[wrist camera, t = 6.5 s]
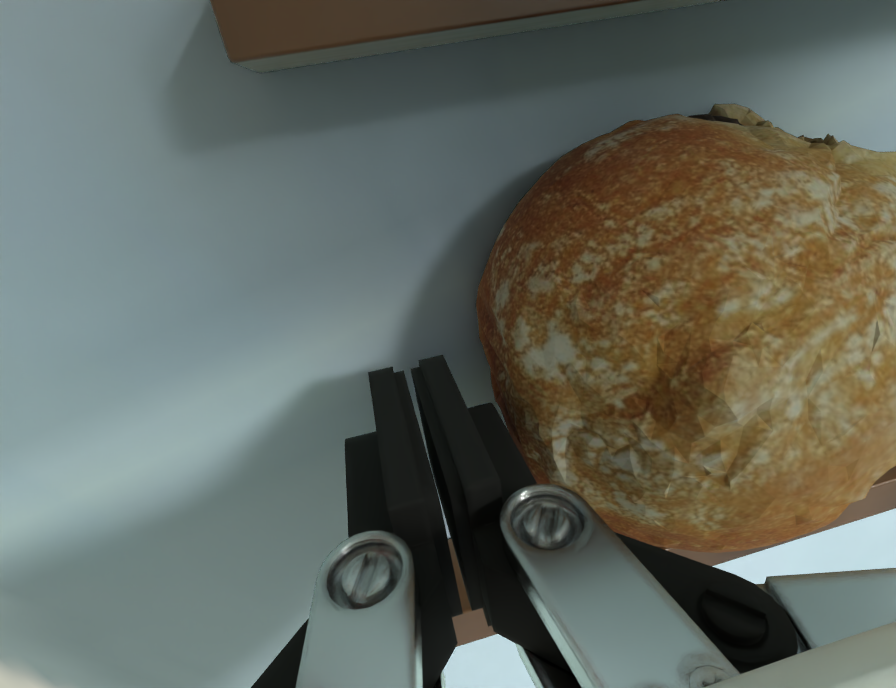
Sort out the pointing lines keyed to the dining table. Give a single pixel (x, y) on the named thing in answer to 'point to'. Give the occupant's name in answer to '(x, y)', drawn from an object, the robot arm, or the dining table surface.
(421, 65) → the dining table surface
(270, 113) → the dining table surface
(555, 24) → the rectangular frame
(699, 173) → the bread roll
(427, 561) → the robot arm
